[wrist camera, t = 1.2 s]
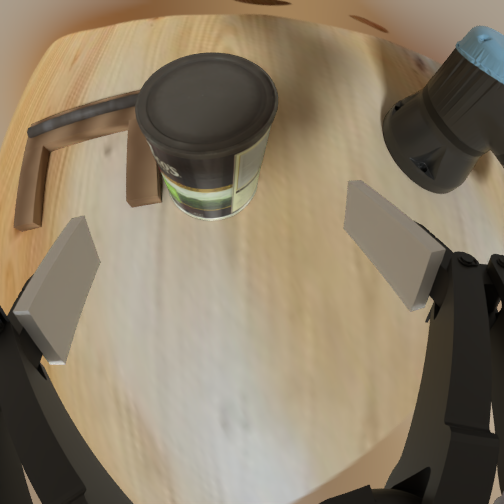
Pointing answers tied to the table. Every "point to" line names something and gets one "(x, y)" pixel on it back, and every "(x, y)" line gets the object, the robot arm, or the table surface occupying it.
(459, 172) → the robot arm
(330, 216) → the table surface
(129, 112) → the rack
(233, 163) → the coffee can
